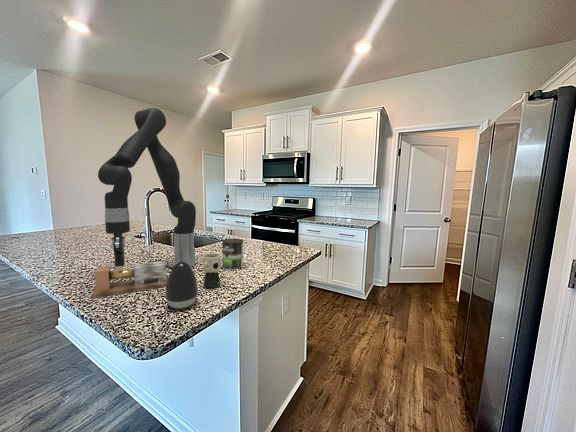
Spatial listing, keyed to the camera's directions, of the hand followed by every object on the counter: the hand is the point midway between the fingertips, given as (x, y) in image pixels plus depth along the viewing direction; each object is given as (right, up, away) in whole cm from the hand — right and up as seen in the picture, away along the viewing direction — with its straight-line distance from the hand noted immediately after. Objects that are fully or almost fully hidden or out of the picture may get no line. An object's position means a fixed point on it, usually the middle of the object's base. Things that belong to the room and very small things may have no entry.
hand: (119, 264), depth 94 cm
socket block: (-5, -8, -2) cm, 10 cm away
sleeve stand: (+3, -10, +3) cm, 11 cm away
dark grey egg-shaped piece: (+28, -12, -10) cm, 32 cm away
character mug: (+33, -10, +7) cm, 35 cm away
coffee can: (+36, -8, +31) cm, 48 cm away
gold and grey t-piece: (0, -5, +1) cm, 5 cm away
